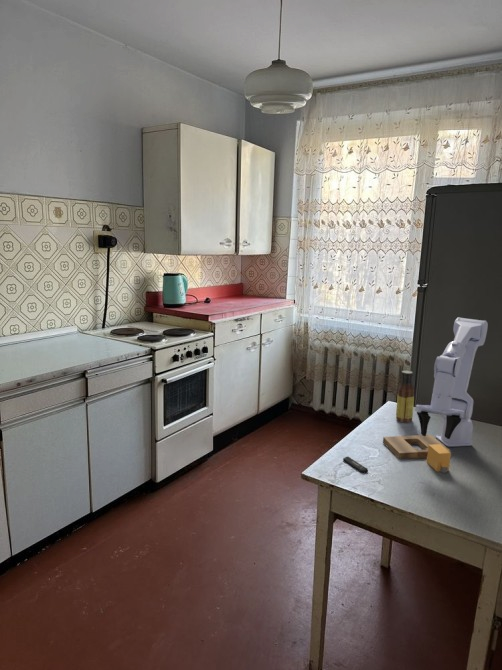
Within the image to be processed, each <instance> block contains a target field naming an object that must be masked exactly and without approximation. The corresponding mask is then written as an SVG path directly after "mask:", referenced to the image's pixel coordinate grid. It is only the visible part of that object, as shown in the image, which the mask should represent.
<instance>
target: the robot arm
mask: <svg viewBox="0 0 502 670" xmlns="http://www.w3.org/2000/svg"><path fill="white" fill-rule="evenodd" d="M452 327H453V328H452V329H453V334H454V338H453V341H450V342H449V343H448V344H447V345H446V347H445V349H444V351H443V352H442V354H441V355H439V356H436V359H435V362H434V367H433V373H434V374H433V378H434V382H433V386H432V387H433V388H432V395H431V399H430V400H431V401H430V405H429V404H416V405H415V408H414V409H415V410H414V411H415V412H416V414H417V417H418V421H419V425H420V435H423V436H426V435H427V432H428V431H427V430H428V426H429V423H430V421H431V416H430V414H435V415H442V416H441V417H442V427H441V432H440V433H441V434H440V435H436V436H435V438H436V439H437V440H438V441H439V442H441V443H442V444H443V445H444V446H446V447H447V448H449V447H451V448H452V447H467V446H468V447H469V446H471V447H472V446H473V443H472V437H473V431H474V425H473V421H472V419H471V418H472V415H473V409H474V399H473V397H472V396H471V395H470V394H469V393H468V392H467V391H468V388H469V383H470V378H471V375H472V370H473V365H474V359H475V357H476V353H477V350H478V347H482V346H484V344H485V342H486V337H487V334H488V333H487V332H488V327H489V326H488V322H487V320H485V319H484V320H481V319H480V320H479V319H473V318H464V317H460V316H459V317H457V318H456V319H455V320H454V323H453V326H452Z"/></svg>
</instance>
